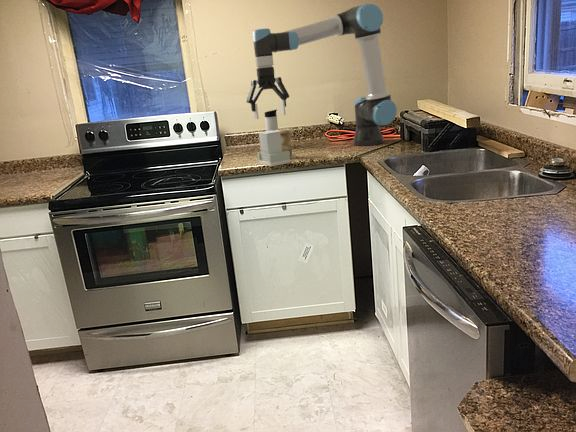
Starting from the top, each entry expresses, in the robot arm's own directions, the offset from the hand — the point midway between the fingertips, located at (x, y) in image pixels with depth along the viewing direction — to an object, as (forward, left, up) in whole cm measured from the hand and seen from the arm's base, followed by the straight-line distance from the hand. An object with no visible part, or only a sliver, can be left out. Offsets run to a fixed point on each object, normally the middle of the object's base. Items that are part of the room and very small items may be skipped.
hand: (270, 116), depth 228 cm
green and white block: (0, 0, -21) cm, 21 cm away
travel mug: (-20, -36, -21) cm, 46 cm away
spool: (-10, -6, -21) cm, 24 cm away
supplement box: (+1, -1, -19) cm, 19 cm away
